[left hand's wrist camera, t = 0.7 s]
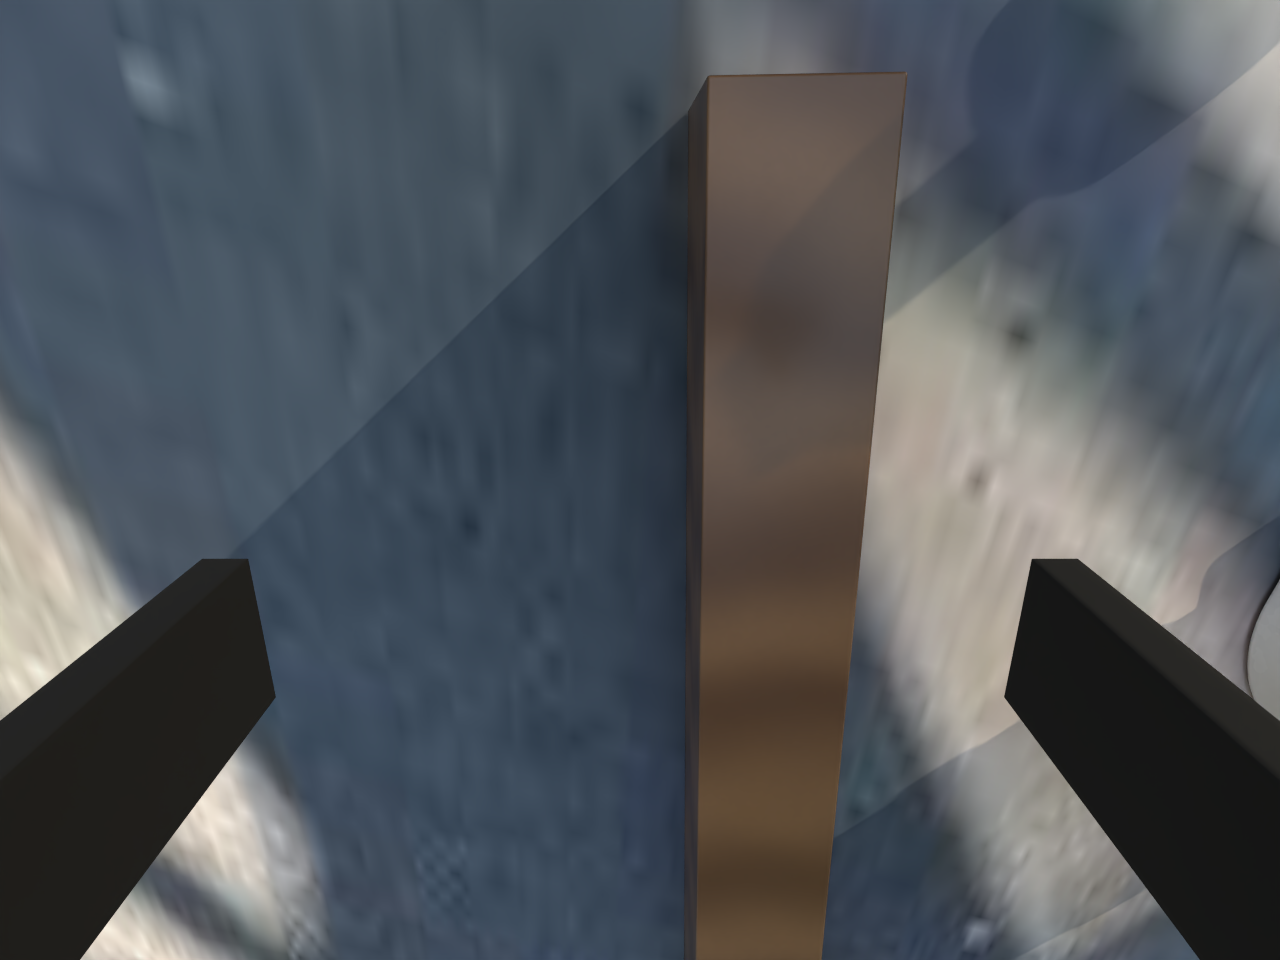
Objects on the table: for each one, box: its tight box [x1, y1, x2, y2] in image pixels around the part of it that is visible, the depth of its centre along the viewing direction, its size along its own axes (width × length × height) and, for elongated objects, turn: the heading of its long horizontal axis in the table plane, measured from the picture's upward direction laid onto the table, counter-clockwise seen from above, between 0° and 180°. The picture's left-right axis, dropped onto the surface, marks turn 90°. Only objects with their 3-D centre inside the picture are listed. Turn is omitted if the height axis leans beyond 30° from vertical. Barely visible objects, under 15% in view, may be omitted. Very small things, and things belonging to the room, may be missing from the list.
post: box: [684, 72, 907, 960], centre depth 35 cm, size 59×6×8 cm, turn 1°
